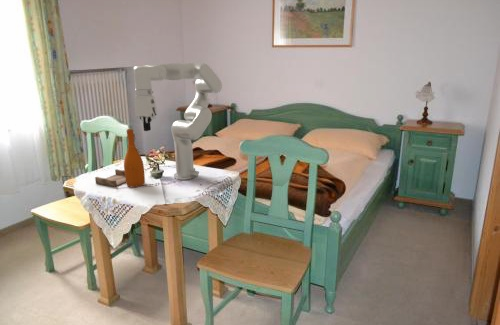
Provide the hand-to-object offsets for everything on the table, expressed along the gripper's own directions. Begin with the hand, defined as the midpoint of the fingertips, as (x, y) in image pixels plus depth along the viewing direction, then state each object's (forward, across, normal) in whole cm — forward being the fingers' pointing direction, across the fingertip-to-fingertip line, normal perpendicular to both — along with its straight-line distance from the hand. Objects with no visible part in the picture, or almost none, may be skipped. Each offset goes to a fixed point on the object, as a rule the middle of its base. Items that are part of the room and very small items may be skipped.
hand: (147, 130), depth 190 cm
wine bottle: (+31, +12, -1) cm, 33 cm away
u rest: (+30, +26, -1) cm, 40 cm away
